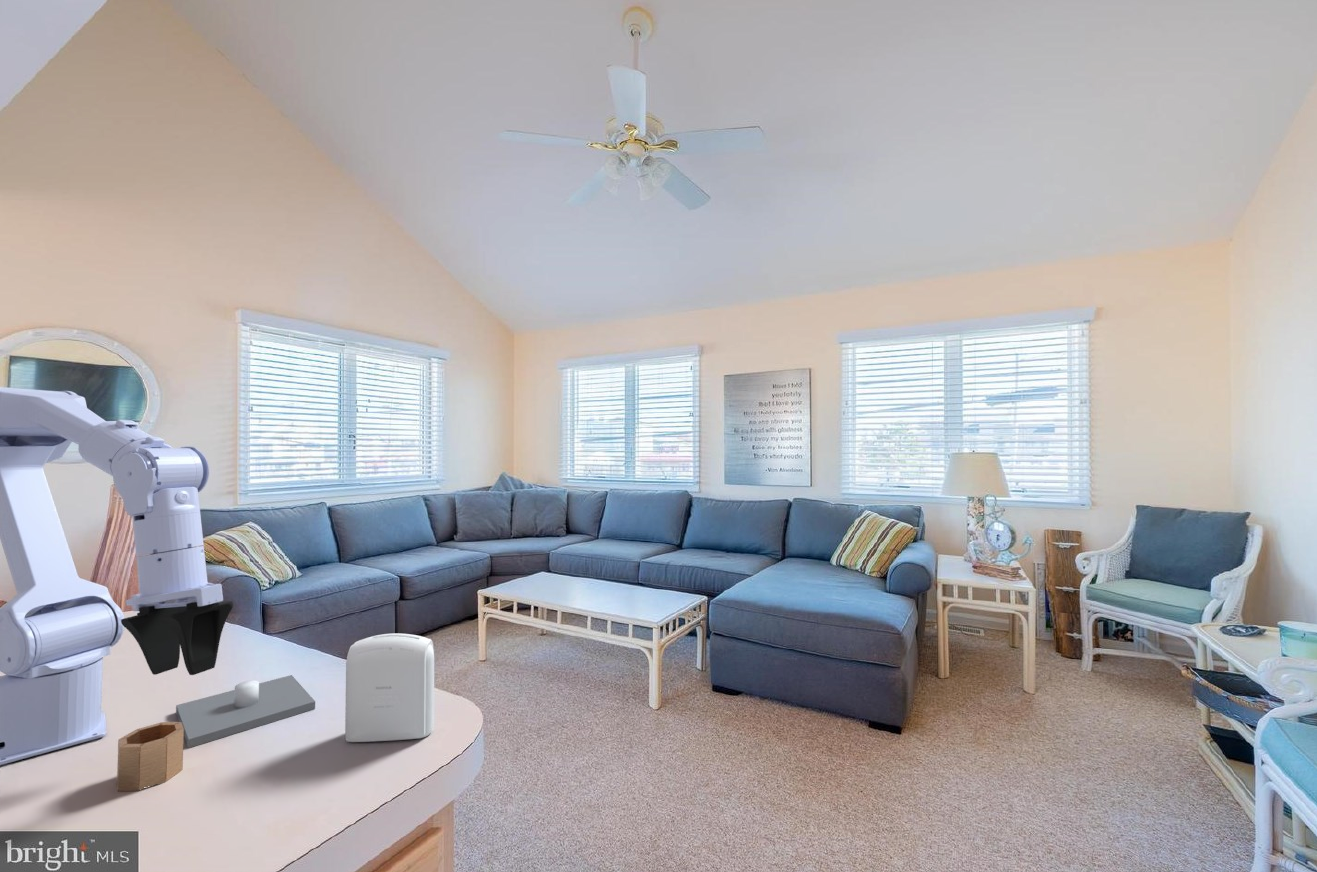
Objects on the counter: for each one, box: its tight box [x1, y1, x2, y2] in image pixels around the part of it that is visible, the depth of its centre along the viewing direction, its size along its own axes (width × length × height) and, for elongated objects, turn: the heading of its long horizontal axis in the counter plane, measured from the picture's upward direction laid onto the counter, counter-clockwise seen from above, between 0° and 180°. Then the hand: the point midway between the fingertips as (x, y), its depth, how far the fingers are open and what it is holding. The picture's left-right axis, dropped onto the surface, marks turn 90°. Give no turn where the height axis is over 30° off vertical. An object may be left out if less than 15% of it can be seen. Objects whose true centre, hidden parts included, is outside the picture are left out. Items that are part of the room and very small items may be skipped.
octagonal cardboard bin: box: [116, 721, 184, 792], centre depth 57 cm, size 5×5×4 cm
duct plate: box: [175, 674, 316, 749], centre depth 71 cm, size 13×12×4 cm
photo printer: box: [344, 632, 435, 743], centre depth 66 cm, size 10×4×12 cm, turn 96°
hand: (183, 671), depth 60 cm, fingers open, 7 cm apart
